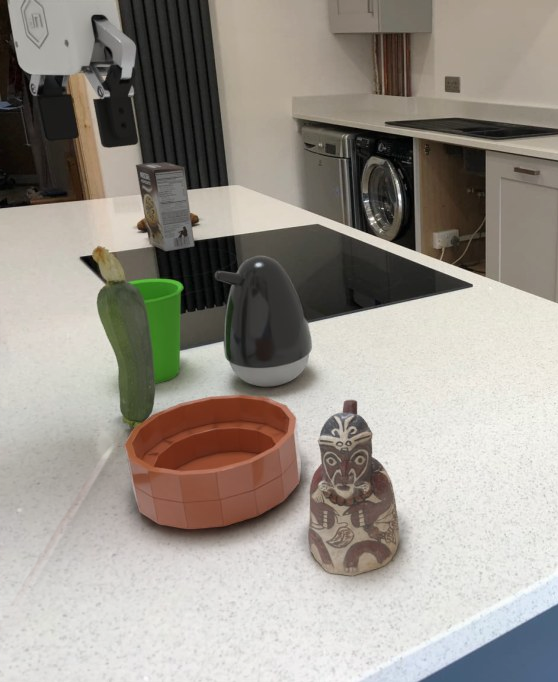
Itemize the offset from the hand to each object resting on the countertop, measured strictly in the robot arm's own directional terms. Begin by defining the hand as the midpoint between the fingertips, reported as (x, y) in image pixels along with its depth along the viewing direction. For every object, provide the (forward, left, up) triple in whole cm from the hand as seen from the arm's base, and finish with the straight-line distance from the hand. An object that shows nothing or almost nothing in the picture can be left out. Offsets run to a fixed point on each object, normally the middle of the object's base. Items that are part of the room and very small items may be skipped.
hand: (90, 142), depth 67 cm
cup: (-2, +14, -30) cm, 33 cm away
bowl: (+10, -13, -29) cm, 34 cm away
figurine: (+22, -23, -30) cm, 44 cm away
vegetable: (0, 0, -30) cm, 30 cm away
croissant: (-19, +97, -30) cm, 103 cm away
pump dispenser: (+12, +11, -30) cm, 34 cm away
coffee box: (-15, +81, -30) cm, 87 cm away
